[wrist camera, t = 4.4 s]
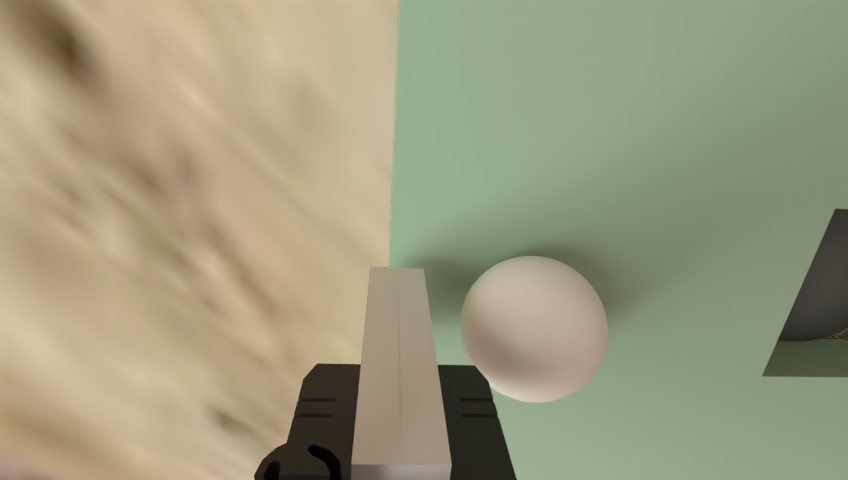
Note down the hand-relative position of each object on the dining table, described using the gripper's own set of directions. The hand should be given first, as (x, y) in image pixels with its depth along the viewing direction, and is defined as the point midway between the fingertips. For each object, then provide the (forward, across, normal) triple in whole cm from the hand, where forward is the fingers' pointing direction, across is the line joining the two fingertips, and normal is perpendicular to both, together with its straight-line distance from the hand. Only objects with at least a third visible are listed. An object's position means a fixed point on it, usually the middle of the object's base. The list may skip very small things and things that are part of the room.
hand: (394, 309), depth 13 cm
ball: (-1, +4, 0) cm, 4 cm away
